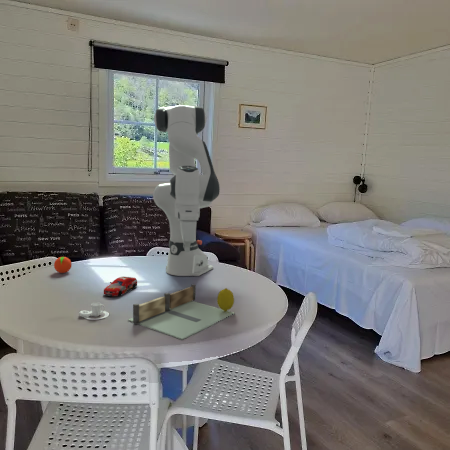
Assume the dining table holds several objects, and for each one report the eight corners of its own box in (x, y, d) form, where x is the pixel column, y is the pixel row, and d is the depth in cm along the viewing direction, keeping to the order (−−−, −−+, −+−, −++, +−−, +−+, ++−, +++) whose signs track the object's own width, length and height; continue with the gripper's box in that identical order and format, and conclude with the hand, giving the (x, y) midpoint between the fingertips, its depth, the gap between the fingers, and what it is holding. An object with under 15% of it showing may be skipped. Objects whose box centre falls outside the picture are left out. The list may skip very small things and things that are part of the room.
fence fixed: (166, 309, 144) (166, 292, 143) (170, 310, 143) (170, 293, 142) (131, 323, 131) (131, 304, 130) (136, 324, 130) (135, 306, 129)
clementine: (70, 275, 180) (70, 258, 179) (52, 276, 178) (52, 259, 177) (72, 270, 188) (72, 254, 186) (55, 270, 186) (55, 254, 185)
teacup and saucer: (75, 319, 135) (75, 307, 134) (88, 310, 143) (87, 298, 142) (102, 322, 133) (102, 309, 133) (113, 313, 141) (113, 301, 140)
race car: (115, 299, 154) (115, 286, 153) (100, 297, 156) (99, 283, 155) (140, 287, 169) (140, 274, 168) (125, 284, 171) (125, 272, 170)
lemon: (236, 313, 142) (236, 290, 141) (220, 315, 140) (220, 291, 139) (230, 307, 147) (231, 285, 146) (214, 309, 145) (215, 286, 144)
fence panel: (171, 309, 143) (171, 293, 142) (168, 307, 144) (168, 292, 143) (196, 299, 153) (196, 285, 153) (192, 298, 154) (193, 284, 153)
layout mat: (183, 299, 155) (183, 298, 155) (234, 314, 143) (234, 312, 143) (127, 321, 134) (127, 319, 134) (181, 340, 121) (181, 338, 121)
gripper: (176, 208, 164) (176, 244, 166) (180, 216, 144) (179, 256, 146) (193, 208, 165) (192, 244, 167) (199, 216, 145) (198, 256, 147)
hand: (186, 250), depth 156 cm, fingers open, 4 cm apart
